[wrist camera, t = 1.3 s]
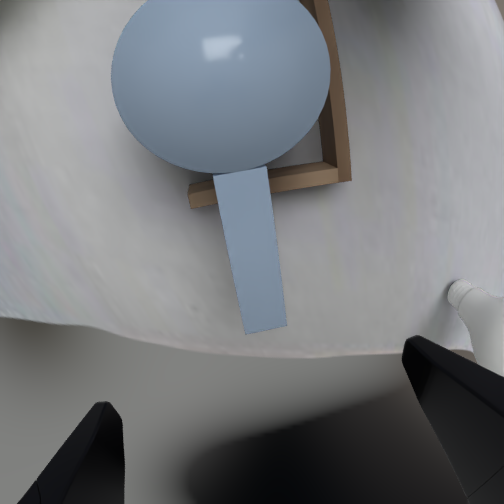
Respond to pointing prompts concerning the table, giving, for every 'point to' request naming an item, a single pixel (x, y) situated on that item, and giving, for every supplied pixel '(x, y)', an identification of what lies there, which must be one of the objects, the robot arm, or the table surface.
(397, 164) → the table surface
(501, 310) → the lightbulb
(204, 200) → the holder
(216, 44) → the blue scoop
